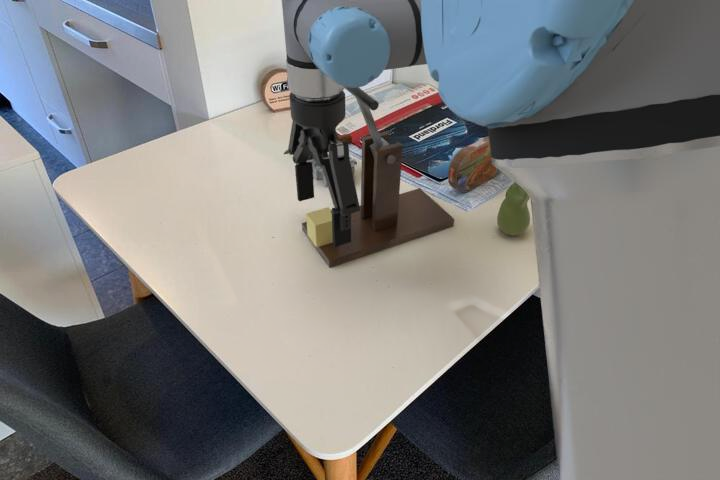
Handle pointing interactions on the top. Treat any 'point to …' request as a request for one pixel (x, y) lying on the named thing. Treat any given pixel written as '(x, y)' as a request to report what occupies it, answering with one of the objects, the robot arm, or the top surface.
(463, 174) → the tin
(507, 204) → the pear
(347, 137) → the kitchen knife
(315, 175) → the egg carton
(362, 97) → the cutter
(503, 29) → the robot arm
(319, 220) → the butter
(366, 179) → the lever base
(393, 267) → the top surface
